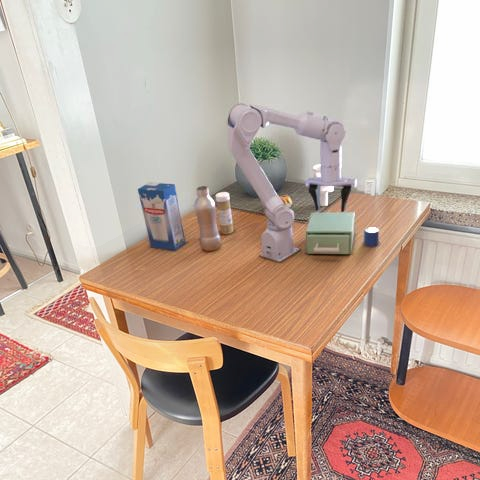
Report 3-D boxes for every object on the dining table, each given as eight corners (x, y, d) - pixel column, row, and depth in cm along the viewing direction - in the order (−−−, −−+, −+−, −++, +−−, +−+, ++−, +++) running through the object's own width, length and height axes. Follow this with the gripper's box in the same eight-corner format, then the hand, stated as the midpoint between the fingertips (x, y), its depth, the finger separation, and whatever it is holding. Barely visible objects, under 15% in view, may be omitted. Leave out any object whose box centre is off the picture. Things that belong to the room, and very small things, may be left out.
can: (373, 247, 144) (374, 233, 141) (361, 244, 146) (361, 230, 144) (380, 242, 146) (381, 228, 144) (368, 239, 149) (369, 225, 146)
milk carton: (150, 247, 161) (137, 188, 150) (161, 239, 166) (149, 182, 155) (175, 250, 157) (163, 191, 146) (185, 242, 161) (174, 184, 150)
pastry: (278, 214, 173) (278, 204, 171) (264, 211, 177) (263, 201, 175) (294, 205, 179) (293, 195, 176) (279, 202, 183) (278, 193, 180)
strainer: (321, 209, 172) (321, 167, 164) (309, 204, 178) (308, 163, 169) (337, 204, 175) (337, 163, 166) (325, 199, 180) (325, 159, 172)
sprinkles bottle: (228, 228, 168) (223, 190, 160) (236, 231, 165) (231, 193, 157) (217, 232, 165) (212, 194, 158) (225, 236, 162) (220, 197, 155)
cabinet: (351, 254, 142) (351, 231, 138) (306, 253, 145) (305, 231, 141) (354, 233, 153) (354, 212, 149) (312, 233, 157) (311, 212, 153)
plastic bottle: (219, 253, 152) (210, 191, 141) (198, 253, 153) (188, 192, 142) (223, 244, 157) (215, 184, 146) (204, 244, 159) (194, 184, 147)
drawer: (347, 261, 137) (348, 243, 133) (305, 260, 140) (304, 243, 137) (351, 234, 151) (352, 218, 148) (313, 234, 154) (312, 218, 151)
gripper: (359, 160, 138) (357, 206, 145) (310, 159, 143) (311, 203, 151) (353, 168, 132) (352, 215, 140) (303, 167, 138) (304, 212, 146)
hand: (330, 209), depth 145 cm, fingers open, 7 cm apart
